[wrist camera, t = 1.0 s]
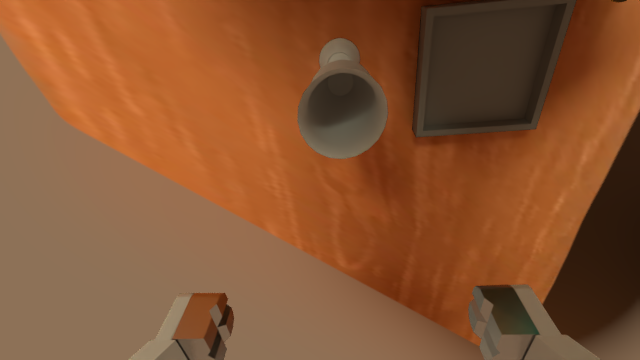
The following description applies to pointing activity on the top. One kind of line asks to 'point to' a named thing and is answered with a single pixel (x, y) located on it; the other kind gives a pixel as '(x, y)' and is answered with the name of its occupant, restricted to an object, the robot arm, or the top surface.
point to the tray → (486, 64)
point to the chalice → (342, 104)
